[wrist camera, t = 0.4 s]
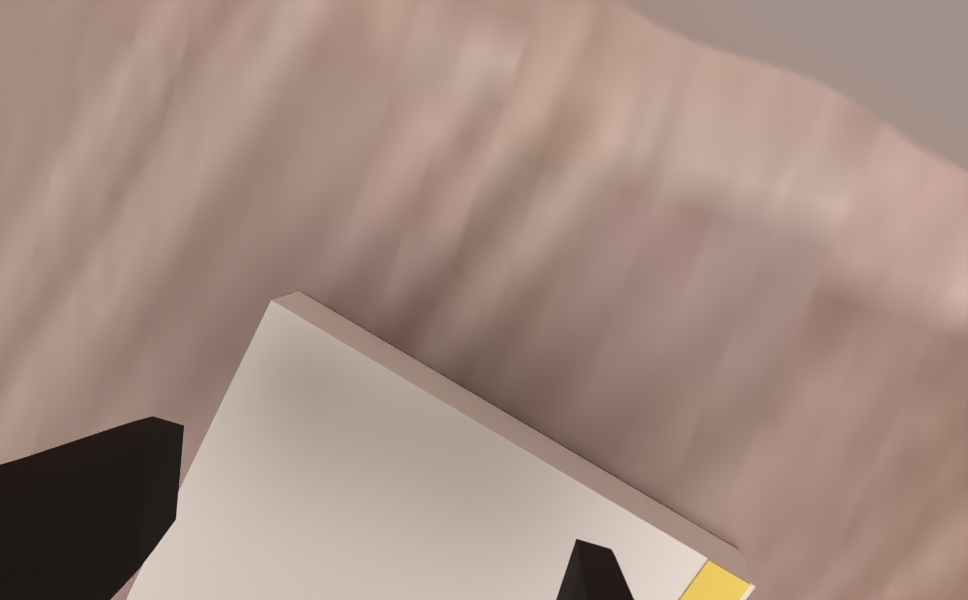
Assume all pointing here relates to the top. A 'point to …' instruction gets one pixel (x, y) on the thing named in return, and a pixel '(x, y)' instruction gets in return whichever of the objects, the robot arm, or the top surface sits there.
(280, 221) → the top surface
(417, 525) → the dock
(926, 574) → the top surface
